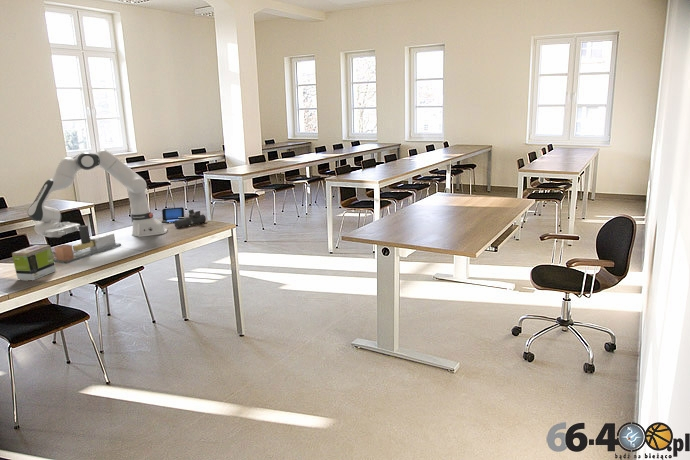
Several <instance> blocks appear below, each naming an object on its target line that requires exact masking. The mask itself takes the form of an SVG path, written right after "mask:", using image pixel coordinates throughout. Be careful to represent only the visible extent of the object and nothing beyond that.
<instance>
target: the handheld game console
mask: <svg viewBox="0 0 690 460" xmlns="http://www.w3.org/2000/svg"><path fill="white" fill-rule="evenodd" d="M161 214H162V215H161V217H162V220H161V222H162V223H169V222H174V221H175V220H180V219H184V218H185V208H184V207H183V206H181V207H170V208H169V207H168V208H163V209H162V210H161ZM178 217H184V218H178Z"/></svg>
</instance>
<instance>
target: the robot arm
mask: <svg viewBox="0 0 690 460" xmlns="http://www.w3.org/2000/svg"><path fill="white" fill-rule="evenodd" d="M95 167H100V168H101V169H103V170H104V171H105V172H107V173H108V174H109V175H110V176H111V177H113V178H114V179H115V180H116V181H117V182H119V183H120V184H121V185H122V186H123V187H125V188H126V191H127V196H128V200H129V205H130V211H131V214H130V215H131V216H130V218H131V222H132V233H131V235H132V236H133V237H138V238H142V237H150V236H158V235H163V234H166V233H167V232H168V231H167V230H168V228H165V227H164V224H162V220H159V219H157V218H156V217H154V213H153V212H151V211H150V207H149V201H148V198H147V193H146V189H147V186H148V185H147V182H146V180H145V179H144V178H143V177H142V176H141V175H139V174H138V173H136V172H135V171H134V170H133V169H131V168H130V167H129V166H128V165H127V164H126V163H124V162H123V161H122V160H120V159H119V157H117V156H115V154H113V153H111V152H109V151H107V150H106V149H100V150H98V151H96V152H95V153H92V152H88V151H83V152H80V153H78V154H77V155H75V156H74V157H73V158H72V157H69V156H68V157H63V158H62V159H61V160H60V162H59V163H58V165H57V167H56V169H55V172H54V174H53V175H52V177H51V178H50V179H47V180H45V182H44V184H43V185H42V187H41V188H40V190H39V192H38V193H37V196H36V197H35V199H34V201H33V202H32V204H31V205H30V206H29V208H27V209H28V210H27V215H28V217H29V219H30V220H31V221H35V222H37V223H36V224H35V225H34V231H35V232H36V234H37V235H39V236H42V237H47V238H61V237H62V236H65V235H67V234H71V233H74V232H79V226H81V224H80V223H77V222H70V221H62V222H61V220H62V213H61V211H60V210H59V209H58V208H55V207H51V206H47V205H45V204H46V202H47V200H48V198H49V197H50V195H51V194H52V193H53V192H57V191H62V190H66V189H69V188H70V187H72V186H73V184H74V181H75V178H76V175H77V173H78V171H80V170H84V171H90V170H93V169H94V168H95Z"/></svg>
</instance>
